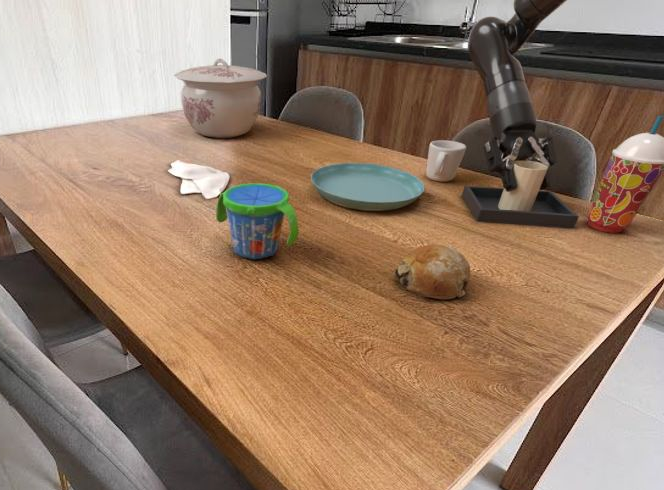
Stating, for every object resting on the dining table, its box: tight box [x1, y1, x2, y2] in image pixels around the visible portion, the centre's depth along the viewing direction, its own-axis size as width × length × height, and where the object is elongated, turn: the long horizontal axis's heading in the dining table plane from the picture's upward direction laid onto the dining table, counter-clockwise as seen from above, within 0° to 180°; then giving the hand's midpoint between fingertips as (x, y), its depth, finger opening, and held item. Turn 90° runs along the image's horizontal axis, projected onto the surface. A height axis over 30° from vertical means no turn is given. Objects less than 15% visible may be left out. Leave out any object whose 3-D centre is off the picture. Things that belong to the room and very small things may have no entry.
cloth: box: [167, 159, 230, 200], centre depth 106 cm, size 26×14×2 cm, turn 17°
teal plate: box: [310, 162, 425, 212], centre depth 99 cm, size 24×24×3 cm
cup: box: [425, 139, 467, 183], centre depth 105 cm, size 11×8×8 cm
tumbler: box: [498, 160, 549, 211], centre depth 90 cm, size 6×6×9 cm
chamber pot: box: [173, 58, 268, 139], centre depth 137 cm, size 28×28×21 cm
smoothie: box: [586, 115, 664, 234], centre depth 81 cm, size 8×8×20 cm
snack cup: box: [215, 182, 299, 261], centre depth 74 cm, size 16×10×10 cm
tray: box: [461, 185, 580, 229], centre depth 92 cm, size 18×14×2 cm
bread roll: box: [394, 244, 471, 301], centre depth 67 cm, size 10×10×8 cm
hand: (528, 188), depth 88 cm, fingers open, 6 cm apart
